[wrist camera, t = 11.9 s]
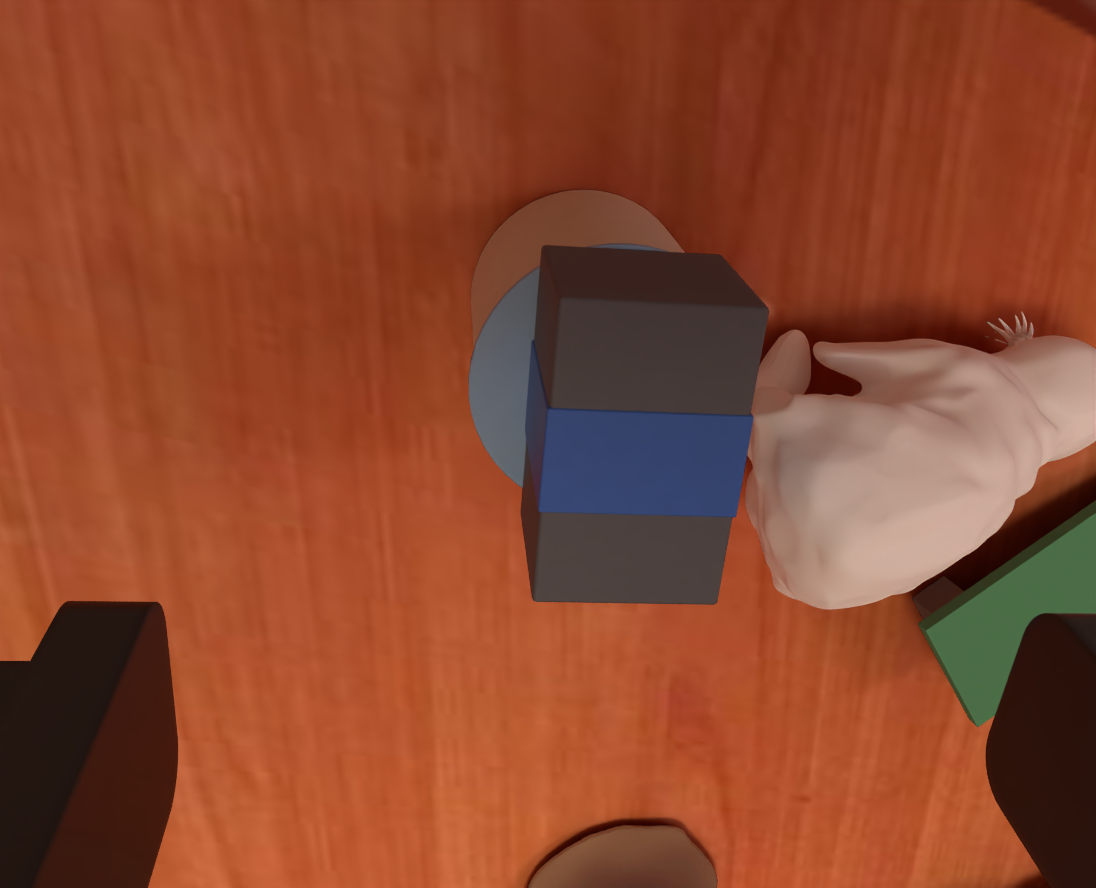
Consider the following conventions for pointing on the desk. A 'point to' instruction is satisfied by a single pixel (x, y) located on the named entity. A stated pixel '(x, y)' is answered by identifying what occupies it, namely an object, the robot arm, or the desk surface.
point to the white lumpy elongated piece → (904, 455)
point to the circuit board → (1007, 610)
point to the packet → (636, 423)
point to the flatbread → (629, 861)
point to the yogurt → (535, 301)
